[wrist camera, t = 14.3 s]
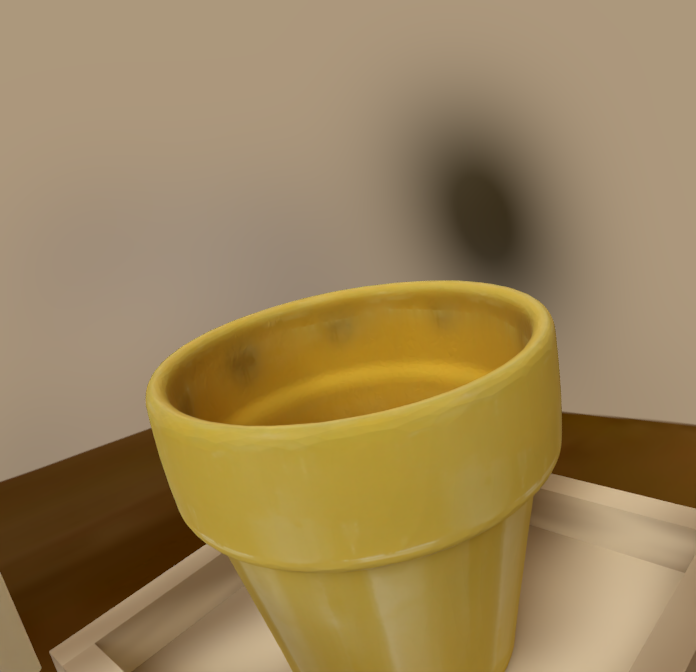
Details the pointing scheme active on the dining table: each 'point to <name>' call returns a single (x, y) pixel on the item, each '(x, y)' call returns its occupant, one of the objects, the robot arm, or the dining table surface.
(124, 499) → the dining table surface
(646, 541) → the birch tray
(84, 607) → the dining table surface
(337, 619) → the plant pot
